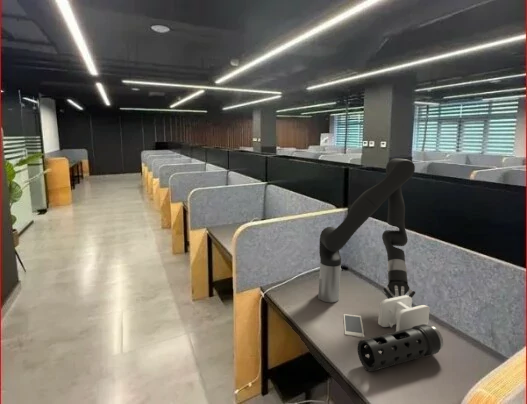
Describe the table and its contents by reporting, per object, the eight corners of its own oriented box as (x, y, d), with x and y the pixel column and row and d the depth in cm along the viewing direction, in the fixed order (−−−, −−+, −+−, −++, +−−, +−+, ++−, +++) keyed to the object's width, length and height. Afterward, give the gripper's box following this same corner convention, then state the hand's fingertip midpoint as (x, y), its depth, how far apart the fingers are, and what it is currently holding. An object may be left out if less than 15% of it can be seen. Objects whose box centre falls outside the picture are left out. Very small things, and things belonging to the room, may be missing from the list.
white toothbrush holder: (396, 342, 112) (399, 313, 110) (376, 326, 122) (378, 299, 120) (427, 333, 118) (430, 305, 115) (405, 319, 127) (408, 293, 125)
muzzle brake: (355, 361, 103) (357, 333, 101) (420, 343, 112) (423, 317, 110) (374, 381, 94) (377, 351, 92) (443, 361, 103) (447, 333, 101)
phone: (344, 336, 116) (344, 333, 116) (343, 316, 130) (343, 313, 130) (364, 339, 115) (364, 336, 115) (360, 318, 128) (360, 315, 128)
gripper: (382, 267, 131) (384, 308, 122) (416, 270, 128) (420, 313, 119) (379, 273, 137) (381, 313, 128) (411, 277, 134) (415, 318, 125)
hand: (400, 313), depth 123 cm, fingers closed
